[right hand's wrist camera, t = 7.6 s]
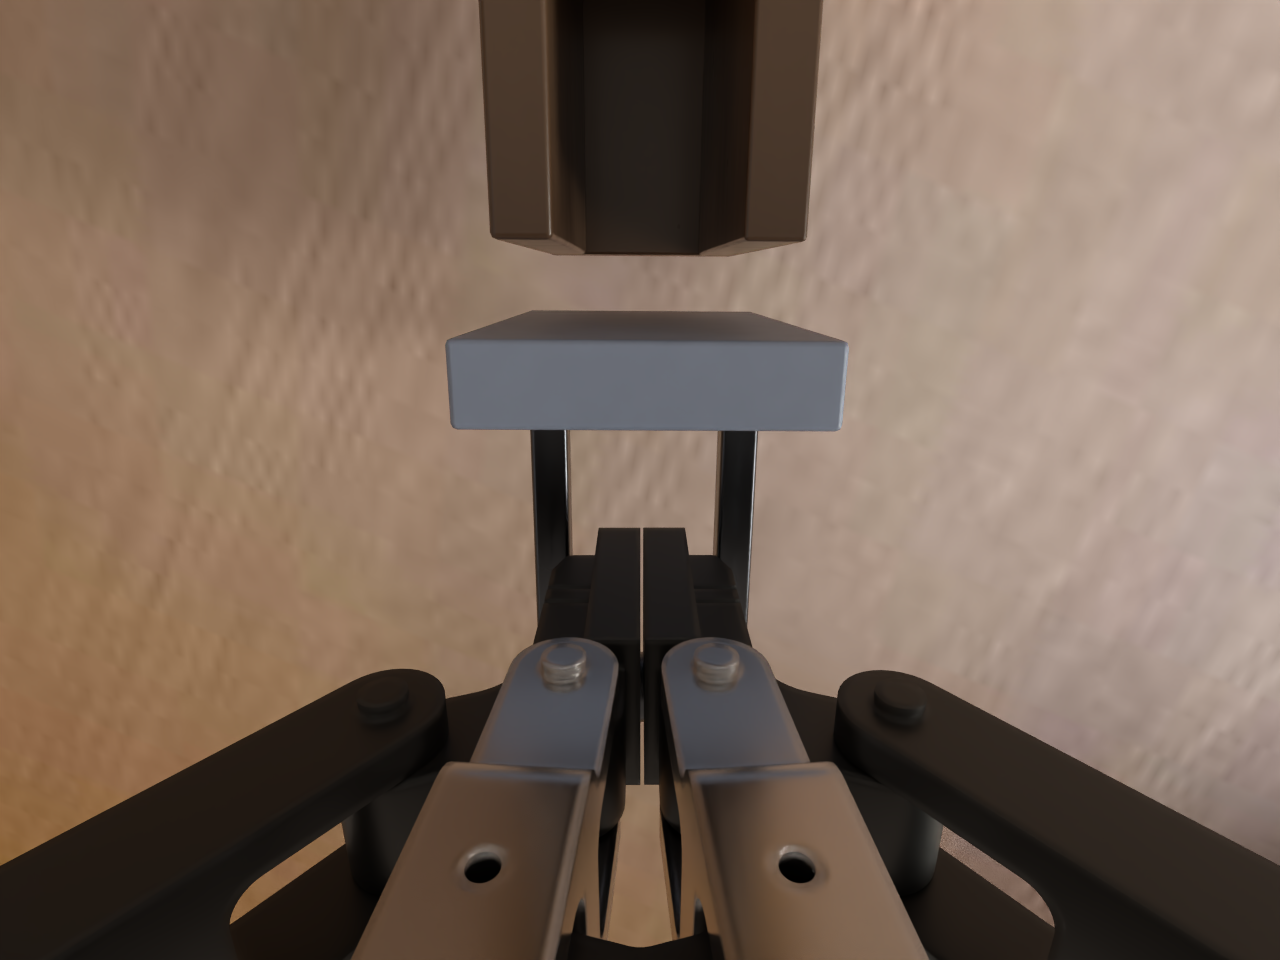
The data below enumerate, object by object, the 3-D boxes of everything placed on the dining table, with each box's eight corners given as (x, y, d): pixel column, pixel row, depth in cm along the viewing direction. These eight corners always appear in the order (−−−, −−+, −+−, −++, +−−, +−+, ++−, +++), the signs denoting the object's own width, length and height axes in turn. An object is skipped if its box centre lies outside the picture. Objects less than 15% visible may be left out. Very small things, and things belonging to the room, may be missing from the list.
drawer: (739, 590, 18) (810, 801, 11) (539, 589, 18) (475, 801, 11) (805, -712, 12) (1097, -2386, 4) (492, -719, 12) (250, -2430, 4)
